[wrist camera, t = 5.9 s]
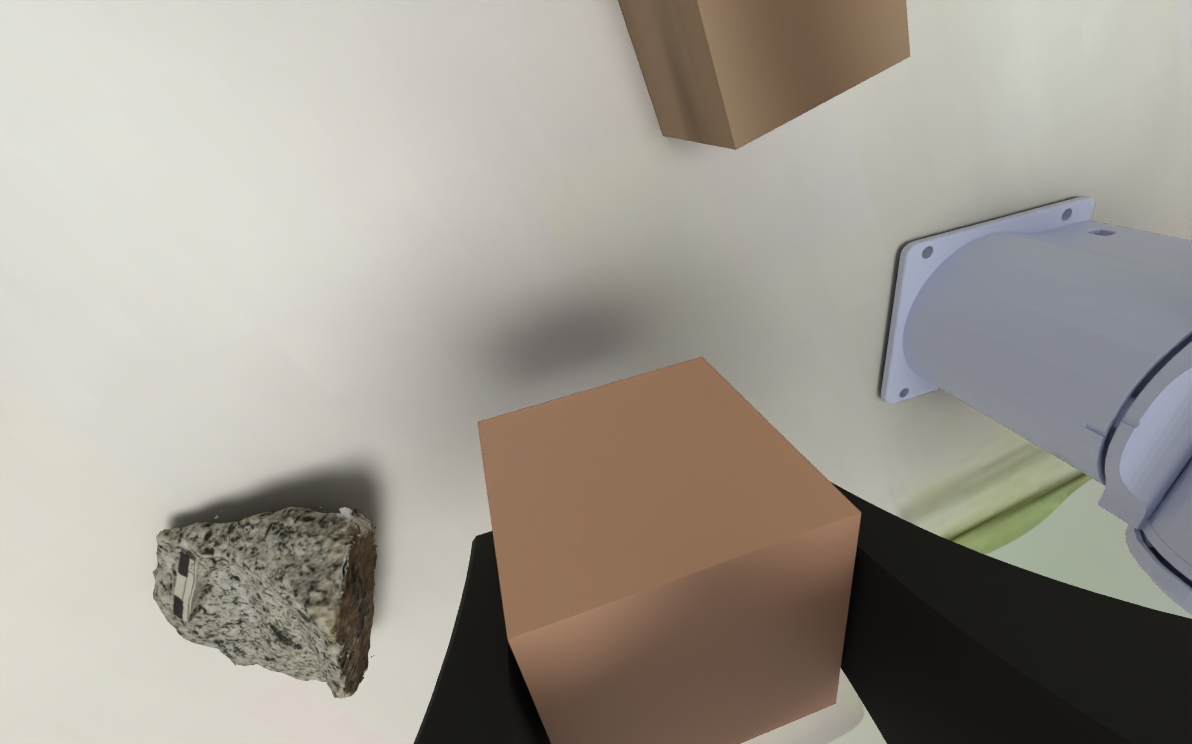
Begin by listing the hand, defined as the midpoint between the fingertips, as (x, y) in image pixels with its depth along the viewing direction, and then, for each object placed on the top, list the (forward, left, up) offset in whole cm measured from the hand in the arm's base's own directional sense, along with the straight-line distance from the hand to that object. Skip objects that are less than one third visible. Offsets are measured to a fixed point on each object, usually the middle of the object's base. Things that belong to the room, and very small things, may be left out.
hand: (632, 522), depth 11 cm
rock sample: (+13, +7, -10) cm, 18 cm away
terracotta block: (0, 0, -2) cm, 2 cm away
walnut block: (-7, -9, -10) cm, 15 cm away
